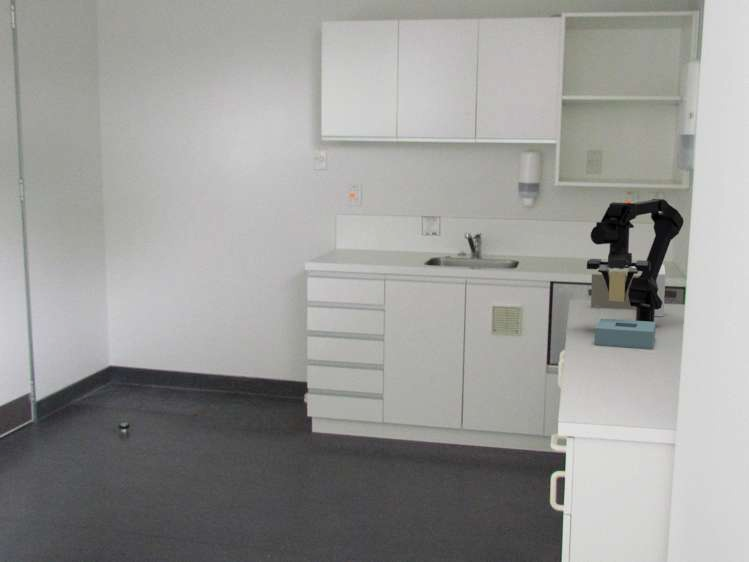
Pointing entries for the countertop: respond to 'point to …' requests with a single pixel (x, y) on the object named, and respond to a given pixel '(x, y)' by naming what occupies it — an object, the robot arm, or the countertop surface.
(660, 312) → the milk carton
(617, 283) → the brass pin
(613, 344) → the hole block
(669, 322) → the countertop surface
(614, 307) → the laptop
